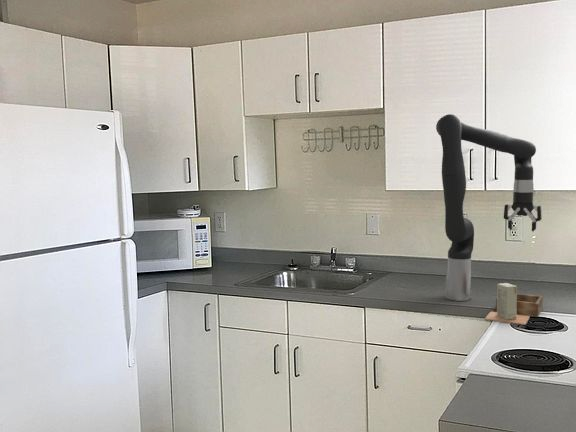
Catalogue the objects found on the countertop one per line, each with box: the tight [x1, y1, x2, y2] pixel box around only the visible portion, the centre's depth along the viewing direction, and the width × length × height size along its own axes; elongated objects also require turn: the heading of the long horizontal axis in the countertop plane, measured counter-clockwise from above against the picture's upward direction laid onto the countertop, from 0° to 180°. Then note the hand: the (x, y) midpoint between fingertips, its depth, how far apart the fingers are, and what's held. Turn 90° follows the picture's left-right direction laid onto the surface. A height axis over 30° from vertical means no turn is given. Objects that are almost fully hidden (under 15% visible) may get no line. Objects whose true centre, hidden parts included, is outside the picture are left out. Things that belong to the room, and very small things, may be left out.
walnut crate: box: [495, 293, 544, 318], centre depth 240 cm, size 15×12×5 cm
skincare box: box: [496, 282, 518, 320], centre depth 230 cm, size 6×4×12 cm
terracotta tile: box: [484, 311, 531, 326], centre depth 230 cm, size 14×10×1 cm
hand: (521, 230), depth 255 cm, fingers open, 8 cm apart
